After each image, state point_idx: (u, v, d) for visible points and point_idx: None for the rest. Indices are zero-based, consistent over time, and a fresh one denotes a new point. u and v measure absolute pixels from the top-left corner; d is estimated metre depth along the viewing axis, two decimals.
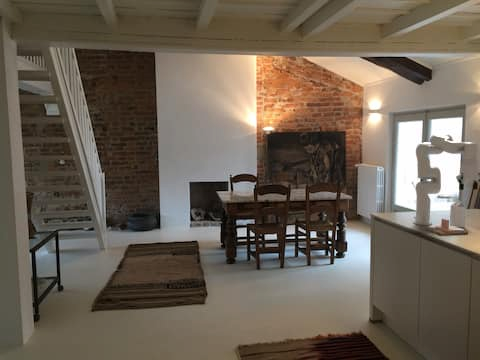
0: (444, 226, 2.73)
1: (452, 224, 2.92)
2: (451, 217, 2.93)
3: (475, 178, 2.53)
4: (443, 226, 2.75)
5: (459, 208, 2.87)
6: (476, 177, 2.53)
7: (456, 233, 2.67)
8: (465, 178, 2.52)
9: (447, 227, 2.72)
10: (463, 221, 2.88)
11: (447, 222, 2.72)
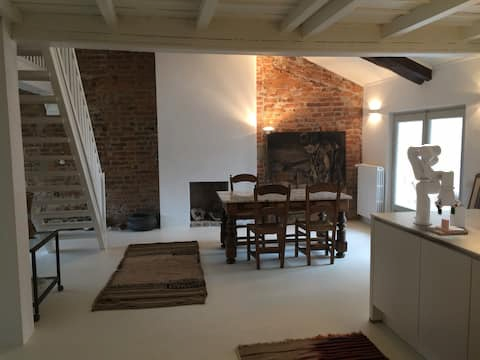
0: (444, 226, 2.73)
1: (452, 224, 2.92)
2: (451, 217, 2.93)
3: (452, 204, 2.71)
4: (443, 226, 2.75)
5: (459, 208, 2.87)
6: (453, 203, 2.71)
7: (456, 233, 2.67)
8: (443, 204, 2.70)
9: (447, 227, 2.72)
10: (463, 221, 2.88)
11: (447, 222, 2.72)
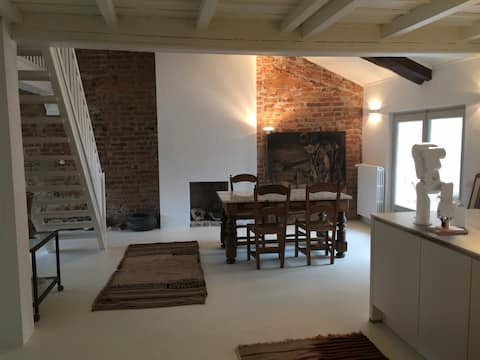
0: None
1: (452, 224, 2.92)
2: None
3: (451, 215, 2.72)
4: None
5: (459, 208, 2.87)
6: (452, 214, 2.72)
7: (456, 233, 2.67)
8: (442, 215, 2.71)
9: (447, 227, 2.72)
10: (463, 221, 2.88)
11: (447, 222, 2.72)
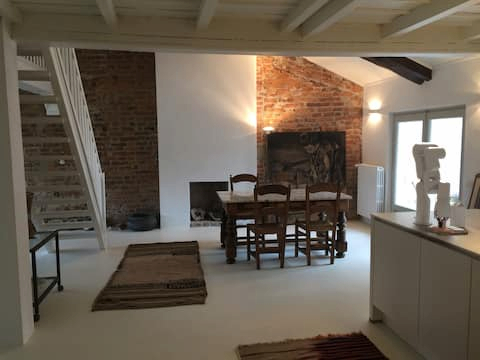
0: None
1: (452, 224, 2.92)
2: (451, 217, 2.93)
3: (448, 215, 2.72)
4: None
5: (459, 208, 2.87)
6: (449, 214, 2.72)
7: (456, 233, 2.67)
8: (439, 215, 2.71)
9: (444, 227, 2.72)
10: (463, 221, 2.88)
11: (444, 222, 2.71)
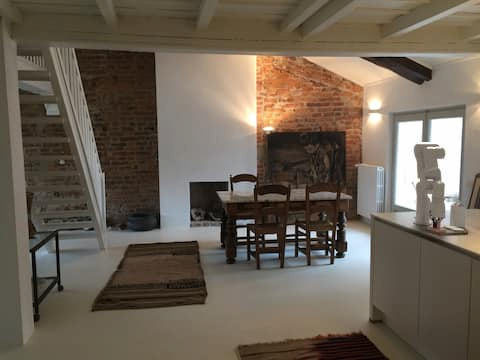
0: None
1: (452, 224, 2.92)
2: (451, 217, 2.93)
3: (442, 215, 2.71)
4: None
5: (459, 208, 2.87)
6: (443, 214, 2.71)
7: (456, 233, 2.67)
8: (433, 215, 2.70)
9: (438, 227, 2.71)
10: (463, 221, 2.88)
11: (438, 222, 2.71)
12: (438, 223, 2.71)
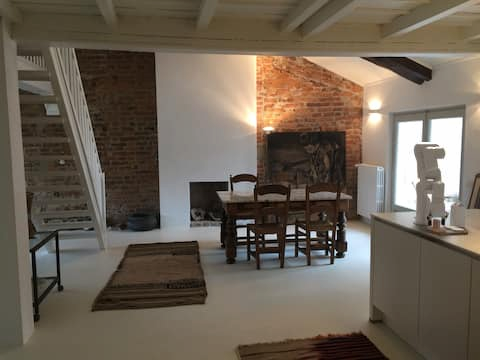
0: (435, 226, 2.72)
1: (452, 224, 2.92)
2: (451, 217, 2.93)
3: (442, 215, 2.71)
4: (434, 226, 2.73)
5: (459, 208, 2.87)
6: (443, 214, 2.71)
7: (456, 233, 2.67)
8: (433, 215, 2.70)
9: (438, 227, 2.71)
10: (463, 221, 2.88)
11: (438, 222, 2.71)
12: (438, 223, 2.71)
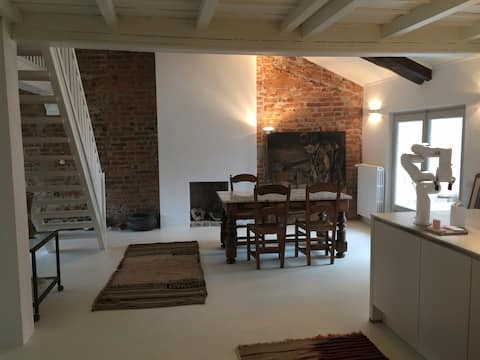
0: (435, 226, 2.72)
1: (452, 224, 2.92)
2: (451, 217, 2.93)
3: (449, 180, 2.76)
4: (434, 226, 2.73)
5: (459, 208, 2.87)
6: (450, 179, 2.76)
7: (456, 233, 2.67)
8: (440, 180, 2.75)
9: (438, 227, 2.71)
10: (463, 221, 2.88)
11: (438, 222, 2.71)
12: (438, 223, 2.71)
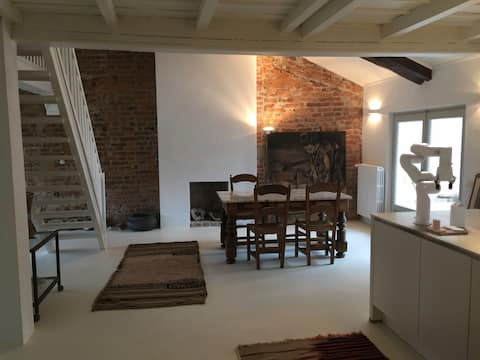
0: (435, 226, 2.72)
1: (452, 224, 2.92)
2: (451, 217, 2.93)
3: (450, 179, 2.76)
4: (434, 226, 2.73)
5: (459, 208, 2.87)
6: (451, 178, 2.76)
7: (456, 233, 2.67)
8: (441, 179, 2.75)
9: (438, 227, 2.71)
10: (463, 221, 2.88)
11: (438, 222, 2.71)
12: (438, 223, 2.71)
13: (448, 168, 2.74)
